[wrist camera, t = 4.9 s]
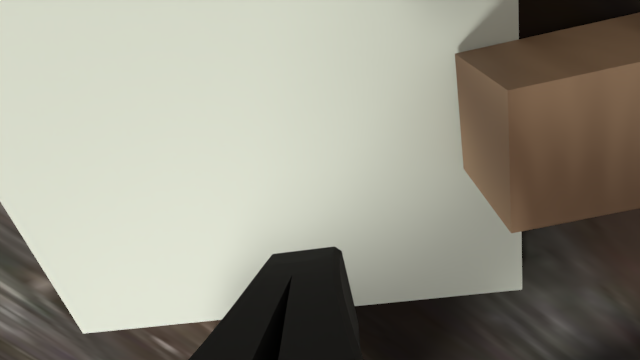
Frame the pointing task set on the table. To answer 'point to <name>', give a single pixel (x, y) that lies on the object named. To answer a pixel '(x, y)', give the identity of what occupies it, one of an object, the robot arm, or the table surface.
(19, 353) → the table surface
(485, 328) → the table surface
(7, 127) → the board
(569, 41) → the walnut block
